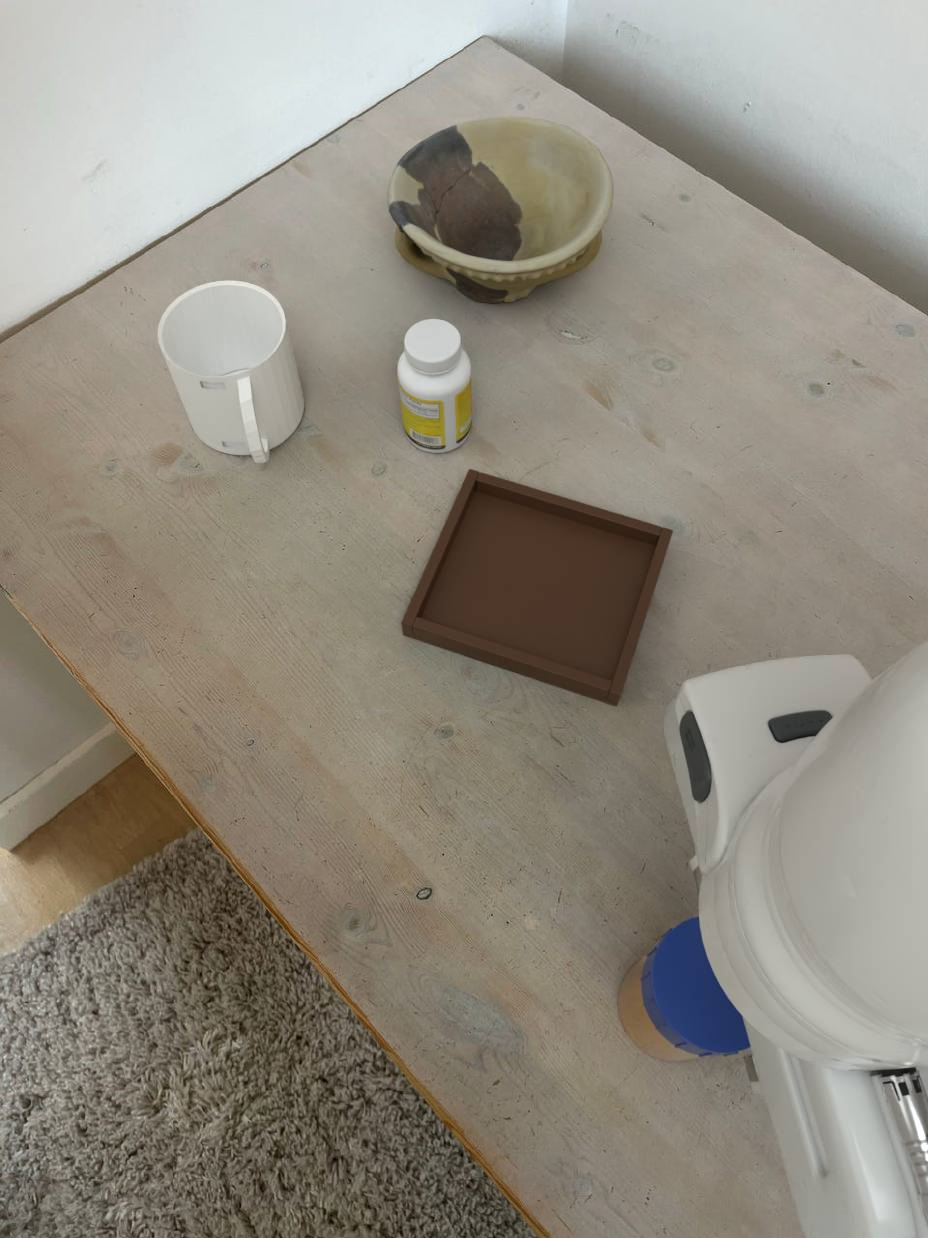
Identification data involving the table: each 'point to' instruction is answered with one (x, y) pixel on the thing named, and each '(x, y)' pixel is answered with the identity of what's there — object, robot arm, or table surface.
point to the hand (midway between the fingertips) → (737, 969)
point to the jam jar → (644, 1020)
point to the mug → (233, 367)
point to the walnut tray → (539, 586)
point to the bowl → (501, 205)
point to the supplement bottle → (435, 387)
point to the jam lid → (690, 996)
